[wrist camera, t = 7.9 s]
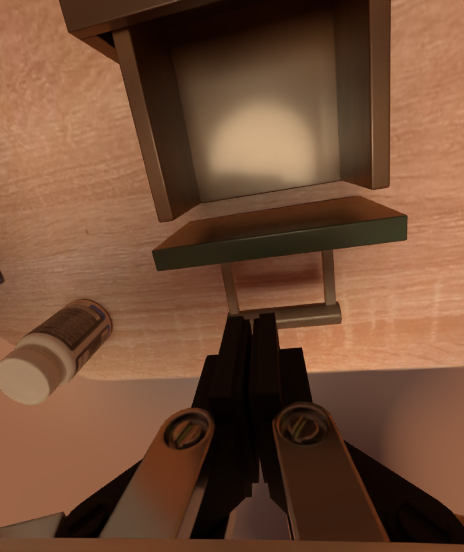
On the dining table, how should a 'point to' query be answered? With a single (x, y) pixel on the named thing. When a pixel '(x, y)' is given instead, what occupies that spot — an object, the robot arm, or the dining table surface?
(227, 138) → the drawer
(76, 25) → the cabinet
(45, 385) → the pill bottle
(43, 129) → the dining table surface
